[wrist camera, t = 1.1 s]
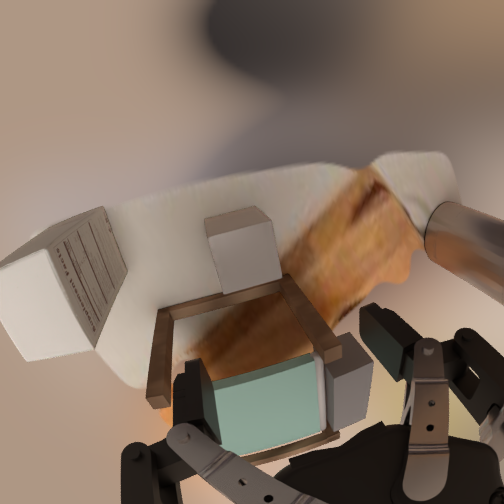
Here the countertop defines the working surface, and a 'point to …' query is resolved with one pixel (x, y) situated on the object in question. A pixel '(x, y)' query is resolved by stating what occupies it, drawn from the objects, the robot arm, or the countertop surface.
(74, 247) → the supplement box
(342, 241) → the countertop surface
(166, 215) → the countertop surface
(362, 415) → the trapdoor
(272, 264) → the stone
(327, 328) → the frame
